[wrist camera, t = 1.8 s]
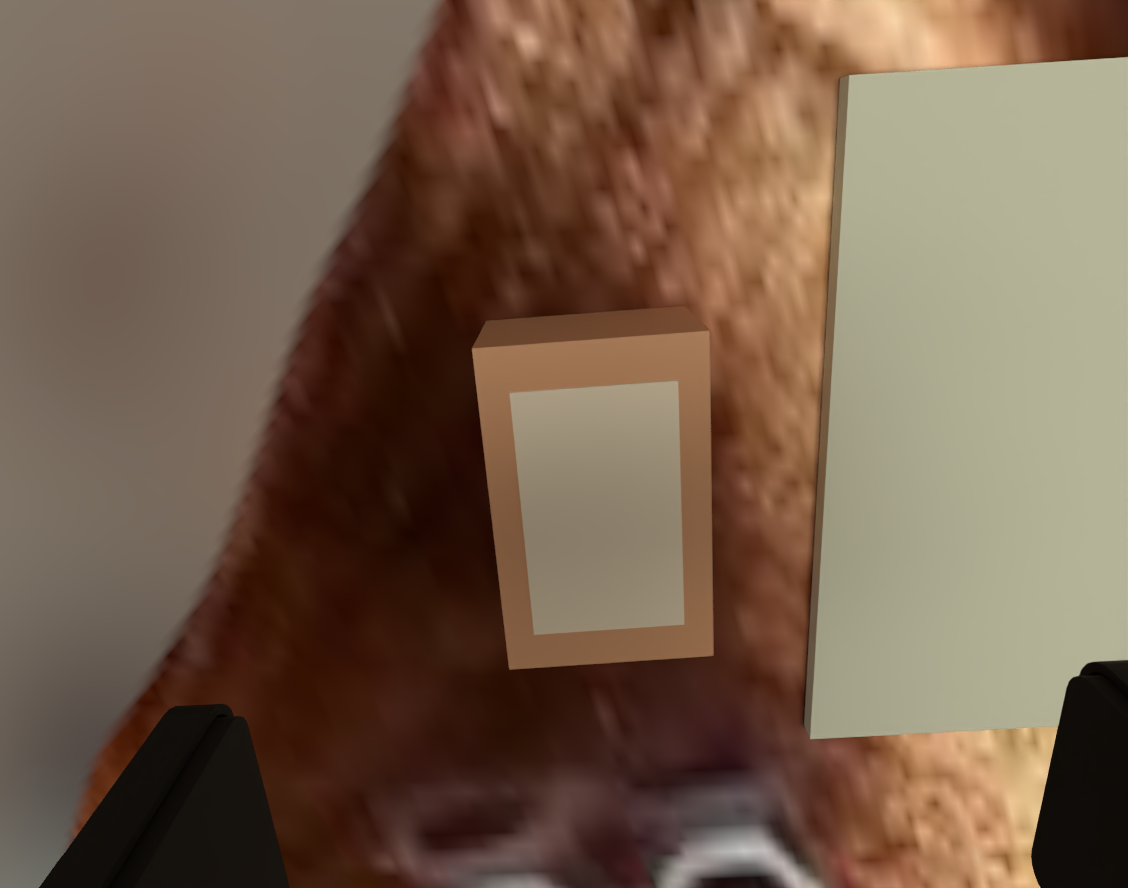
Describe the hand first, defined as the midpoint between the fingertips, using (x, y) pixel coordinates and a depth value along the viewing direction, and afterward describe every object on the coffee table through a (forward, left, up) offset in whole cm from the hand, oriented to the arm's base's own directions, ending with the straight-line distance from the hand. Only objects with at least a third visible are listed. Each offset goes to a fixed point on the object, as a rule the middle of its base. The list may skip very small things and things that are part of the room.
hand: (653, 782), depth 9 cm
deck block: (-1, 0, -12) cm, 12 cm away
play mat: (-1, -14, -12) cm, 18 cm away
